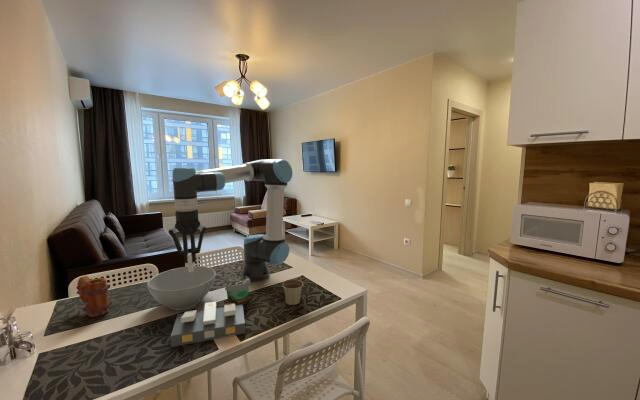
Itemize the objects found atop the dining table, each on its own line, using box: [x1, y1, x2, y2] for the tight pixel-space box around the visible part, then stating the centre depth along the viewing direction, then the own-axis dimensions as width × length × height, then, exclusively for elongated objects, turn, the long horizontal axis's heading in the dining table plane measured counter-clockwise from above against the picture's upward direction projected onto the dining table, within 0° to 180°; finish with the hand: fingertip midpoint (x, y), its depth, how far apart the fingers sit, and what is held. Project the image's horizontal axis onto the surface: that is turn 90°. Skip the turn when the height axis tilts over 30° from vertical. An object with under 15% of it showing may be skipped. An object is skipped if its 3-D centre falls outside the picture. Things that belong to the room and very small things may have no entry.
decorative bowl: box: [146, 265, 217, 311], centre depth 118 cm, size 27×27×12 cm
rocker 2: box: [203, 301, 217, 325], centre depth 99 cm, size 10×4×2 cm, turn 19°
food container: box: [224, 276, 251, 306], centre depth 118 cm, size 12×6×10 cm, turn 148°
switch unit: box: [170, 304, 246, 348], centre depth 100 cm, size 14×24×5 cm, turn 109°
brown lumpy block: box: [76, 275, 113, 318], centre depth 109 cm, size 15×8×15 cm, turn 71°
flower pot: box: [281, 279, 304, 306], centre depth 120 cm, size 9×9×9 cm
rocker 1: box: [181, 309, 198, 323], centre depth 97 cm, size 10×4×2 cm, turn 19°
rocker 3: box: [224, 304, 236, 316], centre depth 102 cm, size 10×4×2 cm, turn 19°
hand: (191, 270), depth 102 cm, fingers closed
